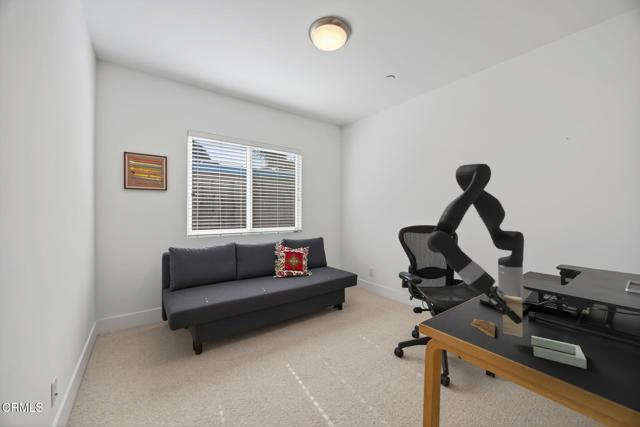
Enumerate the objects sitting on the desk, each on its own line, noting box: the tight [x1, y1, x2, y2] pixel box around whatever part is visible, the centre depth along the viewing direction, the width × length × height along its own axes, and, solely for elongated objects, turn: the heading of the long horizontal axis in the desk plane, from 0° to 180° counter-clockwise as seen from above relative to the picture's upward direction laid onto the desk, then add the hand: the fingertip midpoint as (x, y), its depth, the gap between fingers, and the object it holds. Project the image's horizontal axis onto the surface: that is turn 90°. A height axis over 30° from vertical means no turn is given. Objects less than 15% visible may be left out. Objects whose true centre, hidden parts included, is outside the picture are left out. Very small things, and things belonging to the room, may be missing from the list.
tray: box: [531, 335, 587, 370], centre depth 76 cm, size 8×11×2 cm
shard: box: [470, 318, 496, 338], centre depth 92 cm, size 11×8×2 cm
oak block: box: [502, 295, 524, 338], centre depth 82 cm, size 5×5×11 cm
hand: (519, 318), depth 81 cm, fingers closed on oak block, 5 cm apart
